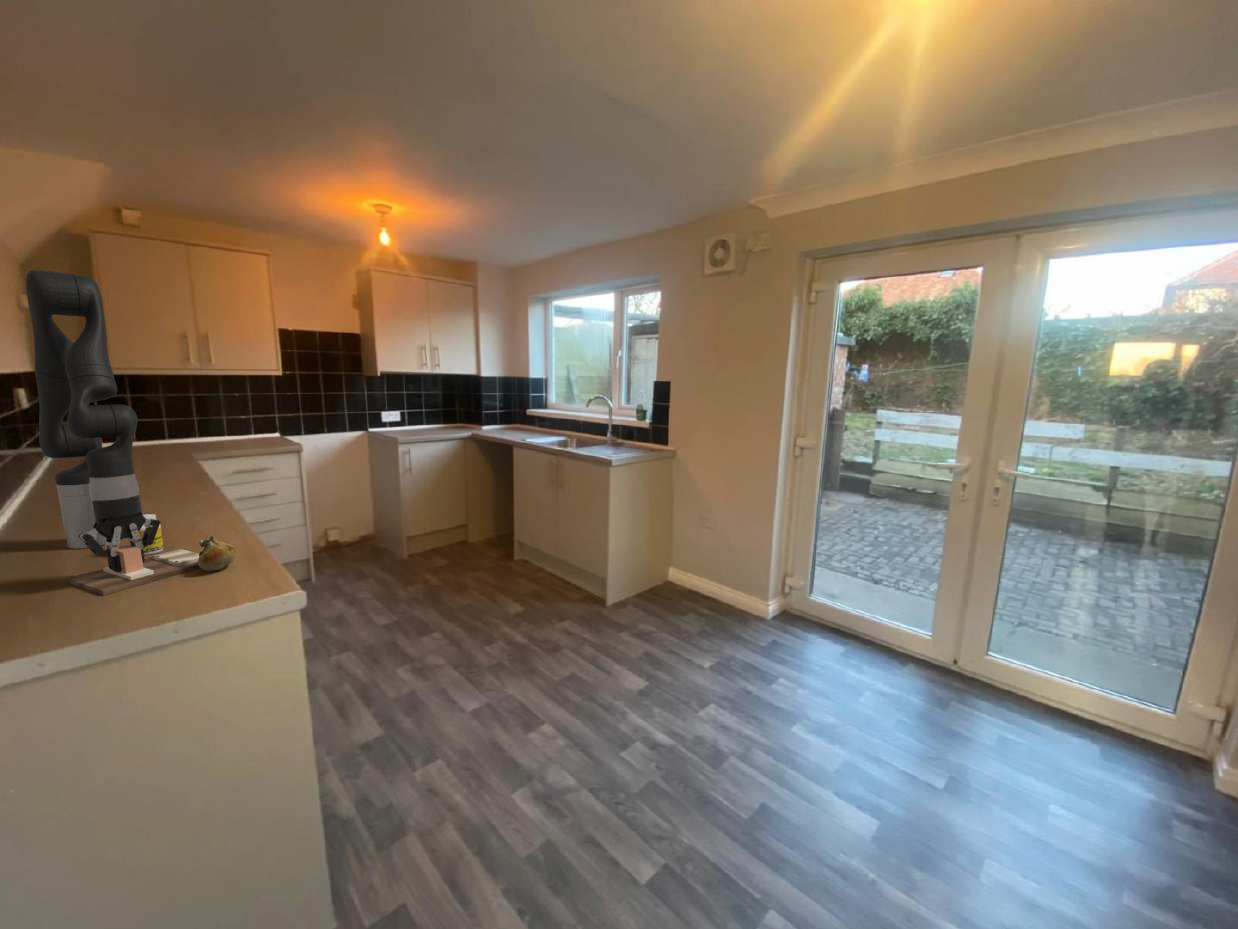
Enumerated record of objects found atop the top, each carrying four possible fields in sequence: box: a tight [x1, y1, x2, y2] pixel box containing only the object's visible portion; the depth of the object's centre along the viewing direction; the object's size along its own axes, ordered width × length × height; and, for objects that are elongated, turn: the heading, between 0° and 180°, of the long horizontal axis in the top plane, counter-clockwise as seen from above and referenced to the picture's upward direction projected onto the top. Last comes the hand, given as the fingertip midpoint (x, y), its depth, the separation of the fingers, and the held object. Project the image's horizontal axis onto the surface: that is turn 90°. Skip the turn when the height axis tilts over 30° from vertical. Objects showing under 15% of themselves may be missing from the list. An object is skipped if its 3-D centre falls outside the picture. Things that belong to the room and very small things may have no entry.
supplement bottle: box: [139, 513, 165, 556], centre depth 128 cm, size 5×5×10 cm
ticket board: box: [66, 548, 201, 596], centre depth 115 cm, size 16×20×2 cm
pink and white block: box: [102, 544, 154, 580], centre depth 112 cm, size 12×4×6 cm, turn 66°
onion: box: [198, 535, 237, 572], centre depth 117 cm, size 8×8×8 cm
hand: (127, 568), depth 113 cm, fingers closed on pink and white block, 3 cm apart
